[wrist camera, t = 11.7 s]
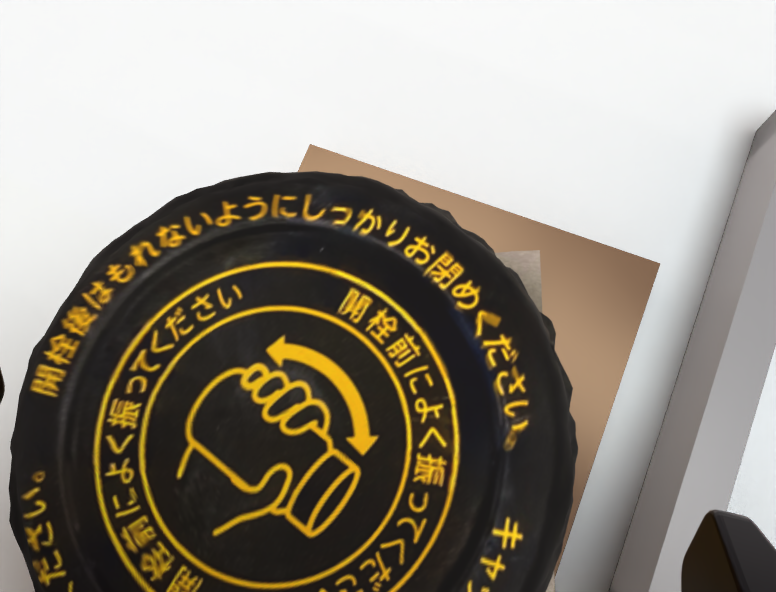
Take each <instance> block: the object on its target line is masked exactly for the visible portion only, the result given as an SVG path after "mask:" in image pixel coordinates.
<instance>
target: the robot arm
mask: <svg viewBox="0 0 776 592" xmlns="http://www.w3.org/2000/svg"><path fill="white" fill-rule="evenodd" d="M4 391H5V385H4V380H3V376H2V372H1V368H0V403H1V401H2V399H3V396H4ZM681 592H776V549H775V548H774V546H773V545H772V544H771V543H770V541H769V540H768V539H767V538H766V537H765V535H764V534H763V533H762V532H761V530H760V529H759V528H758V527H757V525H756V524H755V523H754V522H753V521H752V520H751V519H749V518H748V517H745V516H743V515H738V514H734V513H730V512H726V511H722V510H717V509H714V510H710V511H709V512H707V513H706V515H705V516H704V518H703V520H702V522H701V524H700V526H699V527H698V529H697V531H696V533H695V535H694V537H693V539H692V541H691V543H690V545H689V547H688V549H687V551H686V553H685V556H684V559H683V563H682V570H681Z"/></svg>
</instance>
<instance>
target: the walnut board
mask: <svg viewBox="0 0 776 592" xmlns="http://www.w3.org/2000/svg"><path fill="white" fill-rule="evenodd" d="M309 171H319V172H326V173H339V174H343V175H347V176H363V177H367V178H371V179H374V180H377V181H380V182H382V183H384V184H386V185H389V186H391V187H393V188H394V189H402V190H403V191H404V192H405V193H407V194H408V195H409V196H410V197H411V198H413V199H415V200H416V201H418V202H419V203H432V204H434V205H435V206H437V207H438V208H440V209H444V210H447V211H449V212H450V213H451V215H452V216H453V217H454V219H455V220H456V222H457V223H458V224H459V225H460V226H461V227H462V228H463V229H466V230H468V231H471V232H473V233H475V234H477V235H478V236H480V237H481V238H483V239H484V240H485V241H486V243H487V244H488V245H489V246H490V247H491V248H492V249H493V250H494V252H495V253H500V252H510V251H533V250H540V267H541V284H542V313H543V314H544V315H545V316H547V317H548V318H549V319H550V320H551V321H552V323H553V326H554V329H555V332H556V338H555V351H556V353H557V356H558V358H559V360H560V362H561V364H562V366H563V368H564V370H565V372H566V374H567V376H568V377H569V380H570V382H571V385H572V387H573V391H572V397H571V402H570V408H569V411H570V413H571V415H572V417H573V419H574V420H575V423H576V439H577V444H578V455H577V459H576V463H575V480H574V486H573V504H572V508H571V513H570V517H569V521H568V525H567V529H566V534H565V537H564V540H563V546H562V551H561V554H560V556H559V558H558V560H557V563H556V566H555V569H554V579H555V576H556V573H557V570H558V567H559V564H560V561H561V558H562V555H563V552H564V549H565V546H566V543H567V540H568V537H569V534H570V531H571V528H572V525H573V522H574V519H575V516H576V513H577V510H578V507H579V504H580V501H581V498H582V495H583V492H584V489H585V486H586V483H587V480H588V477H589V474H590V471H591V468H592V465H593V462H594V459H595V456H596V453H597V450H598V447H599V445H600V442H601V439H602V436H603V433H604V430H605V427H606V424H607V421H608V418H609V415H610V412H611V409H612V406H613V403H614V400H615V397H616V394H617V391H618V388H619V385H620V382H621V379H622V376H623V373H624V370H625V367H626V364H627V361H628V358H629V355H630V352H631V349H632V346H633V343H634V340H635V337H636V334H637V331H638V328H639V325H640V322H641V319H642V316H643V313H644V310H645V307H646V304H647V302H648V299H649V296H650V293H651V290H652V287H653V284H654V281H655V278H656V275H657V272H658V269H659V266H660V263H657V262H654V261H651V260H648V259H645V258H642V257H639V256H637V255H634V254H631V253H628V252H625V251H622V250H619V249H616V248H613V247H610V246H607V245H604V244H601V243H598V242H595V241H593V240H590V239H587V238H584V237H581V236H578V235H575V234H572V233H569V232H566V231H563V230H560V229H557V228H554V227H552V226H549V225H546V224H543V223H540V222H537V221H534V220H531V219H528V218H525V217H522V216H519V215H516V214H513V213H510V212H508V211H505V210H502V209H499V208H496V207H493V206H490V205H487V204H484V203H481V202H478V201H475V200H472V199H469V198H467V197H464V196H461V195H458V194H455V193H452V192H449V191H446V190H443V189H440V188H437V187H434V186H431V185H428V184H425V183H423V182H420V181H417V180H414V179H411V178H408V177H405V176H402V175H399V174H396V173H393V172H390V171H387V170H384V169H381V168H379V167H376V166H373V165H370V164H367V163H364V162H361V161H358V160H355V159H352V158H349V157H346V156H343V155H340V154H338V153H335V152H332V151H329V150H326V149H323V148H320V147H317V146H314V145H311V144H310V146H309V148H308V150H307V152H306V154H305V157H304V159H303V161H302V163H301V166H300V168H299V170H298V172H309Z"/></svg>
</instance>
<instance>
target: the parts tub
mask: <svg viewBox="0 0 776 592" xmlns="http://www.w3.org/2000/svg"><path fill="white" fill-rule="evenodd" d="M775 345H776V110H775V111H774V113H773V114H772V115H771V116H770V117H769V118H768V119H767V120H766V121H765V122H764V123H763V124H762V126H761V127H760V128H759V129H758V130H757V131H756V134H755V137H754V140H753V143H752V147H751V150H750V153H749V156H748V159H747V162H746V165H745V168H744V172H743V175H742V178H741V181H740V184H739V187H738V190H737V193H736V197H735V200H734V203H733V206H732V209H731V212H730V215H729V218H728V221H727V225H726V228H725V231H724V234H723V237H722V240H721V243H720V246H719V250H718V253H717V256H716V259H715V262H714V265H713V268H712V271H711V275H710V278H709V281H708V284H707V287H706V290H705V293H704V296H703V300H702V303H701V306H700V309H699V312H698V315H697V318H696V321H695V324H694V328H693V331H692V334H691V337H690V340H689V343H688V346H687V349H686V353H685V356H684V359H683V362H682V365H681V368H680V371H679V374H678V378H677V381H676V384H675V387H674V390H673V393H672V396H671V399H670V403H669V406H668V409H667V412H666V415H665V418H664V421H663V424H662V427H661V431H660V434H659V437H658V440H657V443H656V446H655V449H654V452H653V456H652V459H651V462H650V465H649V468H648V471H647V474H646V477H645V481H644V484H643V487H642V490H641V493H640V496H639V499H638V502H637V506H636V509H635V512H634V515H633V518H632V521H631V524H630V527H629V530H628V534H627V537H626V540H625V543H624V546H623V549H622V552H621V555H620V559H619V562H618V565H617V568H616V571H615V574H614V577H613V580H612V584H611V587H610V590H609V592H681V570H682V563H683V559H684V556H685V553H686V551H687V549H688V547H689V545H690V543H691V541H692V539H693V537H694V535H695V533H696V531H697V529H698V527H699V526H700V524H701V522H702V520H703V518H704V516H705V515H706V513H707V512H709V511H710V510H714V509H717V510H722V511H727V507H728V504H729V501H730V497H731V494H732V491H733V487H734V484H735V480H736V477H737V474H738V470H739V467H740V464H741V460H742V457H743V453H744V450H745V447H746V443H747V440H748V437H749V433H750V430H751V426H752V423H753V420H754V416H755V413H756V409H757V406H758V403H759V399H760V396H761V393H762V389H763V386H764V382H765V379H766V376H767V372H768V369H769V366H770V362H771V359H772V355H773V352H774V349H775Z"/></svg>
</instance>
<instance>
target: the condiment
mask: <svg viewBox="0 0 776 592" xmlns="http://www.w3.org/2000/svg"><path fill="white" fill-rule="evenodd" d="M555 338H556V332H555V329H554V326H553V323H552V321H551V320H550V319H549V318H548V317H547V316H545V315H544V314H543V313H542V284H541V267H540V250H533V251H510V252H500V253H495V252H494V250H493V249H492V248H491V247H490V246H489V245H488V244H487V243H486V241H485V240H484V239H483V238H481V237H480V236H478V235H477V234H475V233H473V232H471V231H468V230H466V229H463V228H462V227H461V226H460V225H459V224H458V223H457V222H456V220H455V219H454V217H453V216H452V215H451V213H450V212H449V211H447V210H444V209H440V208H438V207H437V206H435V205H434V204H432V203H419V202H418V201H416V200H415V199H413V198H411V197H410V196H409V195H408V194H407V193H405V192H404V191H403V190H402V189H394V188H393V187H391V186H389V185H386V184H384V183H382V182H380V181H377V180H374V179H371V178H367V177H363V176H347V175H343V174H339V173H326V172H319V171H309V172H292V173H280V172H267V173H260V174H254V175H249V176H243V177H238V178H233V179H229V180H225V181H222V182H220V183H217V184H215V185H212V186H208V187H204V188H199V189H196V190H194V191H192V192H189V193H187V194H184V195H181V196H178V197H176V198H174V199H173V200H171V201H170V202H168V203H167V204H165V205H164V206H163V207H161V208H160V209H159V210H157V211H156V212H155V213H153V214H152V215H151V216H149V217H148V218H146V219H144V220H143V221H141V222H140V223H138V224H136V225H135V226H133V227H132V228H131V229H129V230H128V231H127V232H125V233H124V234H123V235H121V236H120V237H118V238H117V239H115V240H114V241H112V242H111V243H110V244H109V245H108V246H106V247H105V248H104V249H103V250H102V251H101V252H100V253H99V254H97V255H96V256H95V257H94V258H93V259H92V261H91V262H90V264H89V265H88V267H87V268H86V270H85V271H84V273H83V274H82V276H81V278H80V279H79V281H78V283H77V284H76V286H75V288H74V289H73V291H72V292H71V293H70V295H69V296H68V298H67V299H66V300H65V302H64V303H63V304H62V306H61V307H60V309H59V310H58V312H57V314H56V316H55V317H54V319H53V321H52V323H51V325H50V326H49V328H48V330H47V332H46V333H45V335H44V337H43V338H42V339H41V340H40V341H39V342H38V344H37V345H36V346H35V347H34V349H33V352H32V354H31V357H30V359H29V363H28V369H27V372H26V376H25V379H24V382H23V386H22V389H21V392H20V395H19V402H18V409H17V416H16V422H15V428H14V432H13V435H12V439H11V446H10V450H11V454H12V462H11V473H10V482H9V495H10V504H11V507H10V520H9V521H10V524H11V527H12V530H13V533H14V536H15V538H16V540H17V543H18V545H19V547H20V549H21V551H22V553H23V556H24V558H25V561H26V564H27V567H28V570H29V573H30V576H31V579H32V581H33V585H34V589H35V592H555V580H554V569H555V566H556V563H557V560H558V558H559V556H560V554H561V551H562V546H563V540H564V537H565V534H566V529H567V525H568V521H569V517H570V513H571V508H572V504H573V486H574V480H575V463H576V459H577V455H578V444H577V439H576V423H575V420H574V419H573V417H572V415H571V413H570V411H569V408H570V402H571V397H572V391H573V387H572V385H571V382H570V380H569V377H568V376H567V374H566V372H565V370H564V368H563V366H562V364H561V362H560V360H559V358H558V356H557V353H556V351H555Z"/></svg>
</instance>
